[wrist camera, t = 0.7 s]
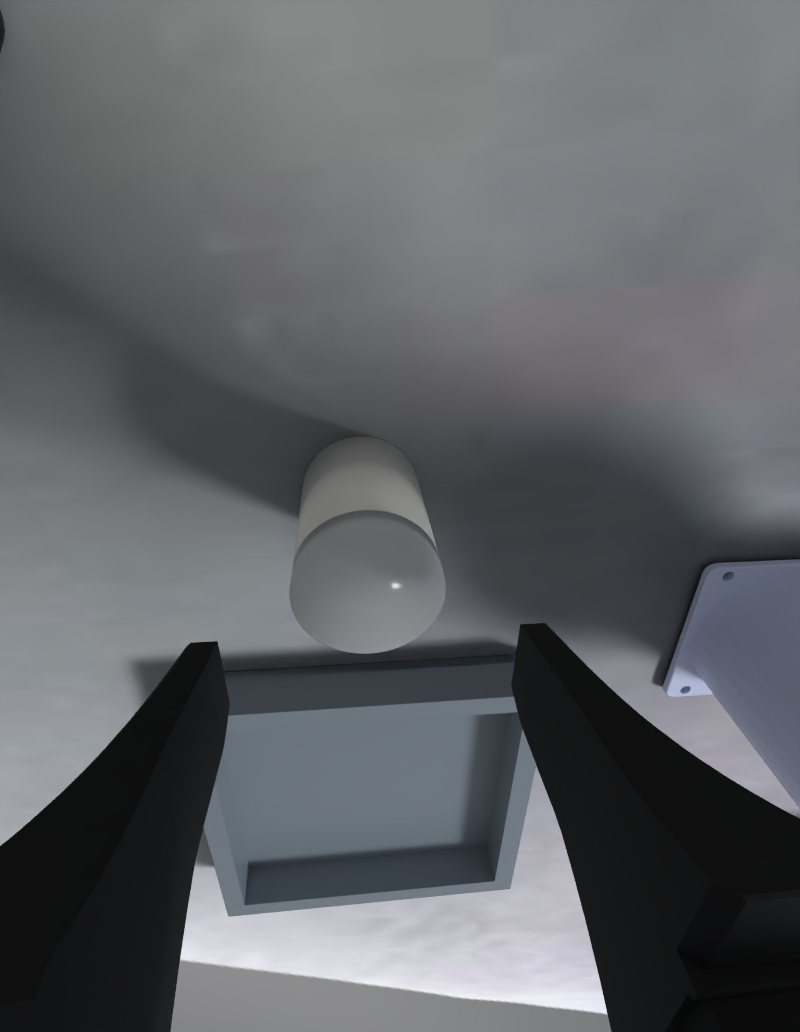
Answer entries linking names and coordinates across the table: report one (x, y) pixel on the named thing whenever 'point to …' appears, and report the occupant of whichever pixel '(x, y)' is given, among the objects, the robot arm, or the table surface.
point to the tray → (368, 784)
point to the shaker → (364, 550)
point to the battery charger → (1, 31)
